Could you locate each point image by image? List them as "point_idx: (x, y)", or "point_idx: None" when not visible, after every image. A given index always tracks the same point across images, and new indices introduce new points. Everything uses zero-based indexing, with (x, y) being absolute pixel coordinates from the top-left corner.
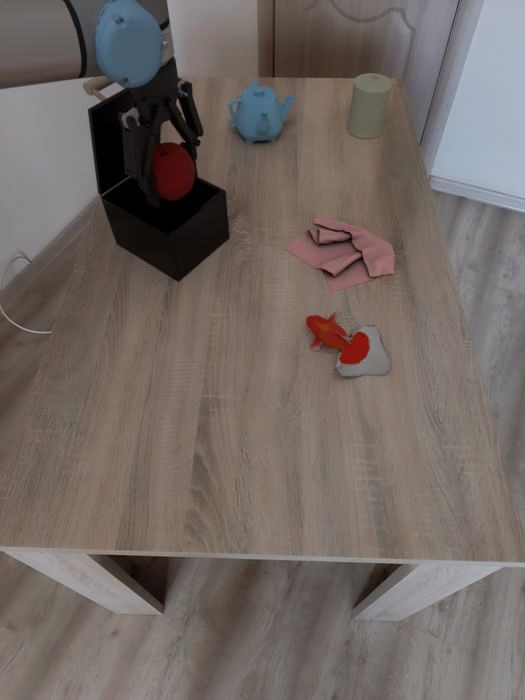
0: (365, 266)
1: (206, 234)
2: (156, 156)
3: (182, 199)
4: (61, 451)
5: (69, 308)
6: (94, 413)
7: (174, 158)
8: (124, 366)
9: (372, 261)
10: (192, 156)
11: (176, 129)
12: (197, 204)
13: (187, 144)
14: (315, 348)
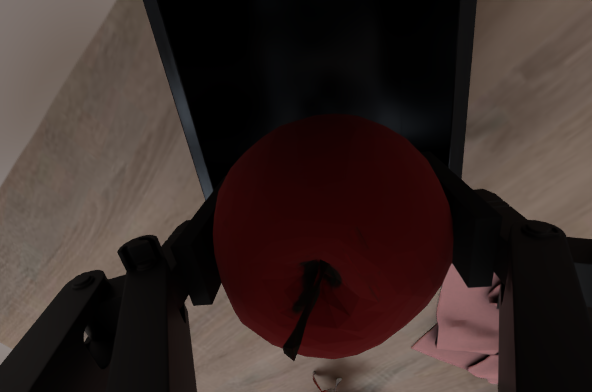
0: (484, 354)
1: None
2: (264, 291)
3: (414, 44)
4: (11, 285)
5: (61, 103)
6: (56, 275)
7: (319, 356)
8: (110, 252)
9: (496, 366)
10: (452, 259)
11: (511, 304)
12: (416, 110)
13: (492, 251)
14: (315, 381)
